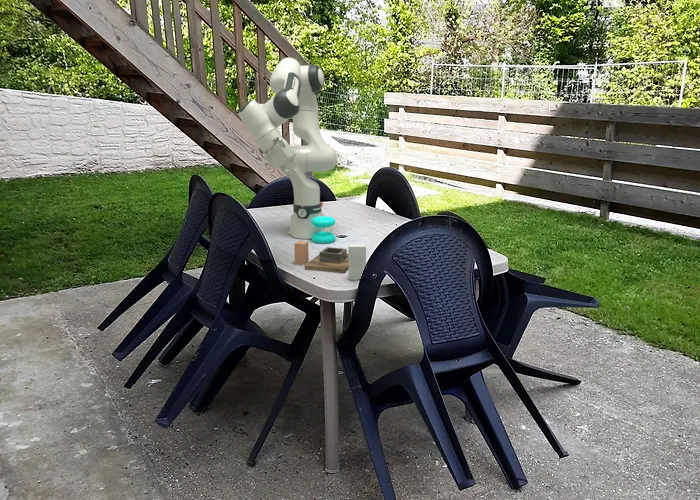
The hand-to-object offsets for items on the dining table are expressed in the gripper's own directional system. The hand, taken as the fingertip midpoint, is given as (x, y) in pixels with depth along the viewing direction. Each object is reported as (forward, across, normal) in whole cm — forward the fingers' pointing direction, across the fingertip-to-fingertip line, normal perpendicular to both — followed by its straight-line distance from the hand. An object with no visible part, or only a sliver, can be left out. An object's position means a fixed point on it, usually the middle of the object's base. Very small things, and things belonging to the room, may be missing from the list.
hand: (293, 173), depth 232 cm
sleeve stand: (+36, +3, +6) cm, 36 cm away
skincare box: (+42, -15, +8) cm, 45 cm away
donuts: (+31, +34, -5) cm, 47 cm away
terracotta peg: (+29, +8, +15) cm, 33 cm away
